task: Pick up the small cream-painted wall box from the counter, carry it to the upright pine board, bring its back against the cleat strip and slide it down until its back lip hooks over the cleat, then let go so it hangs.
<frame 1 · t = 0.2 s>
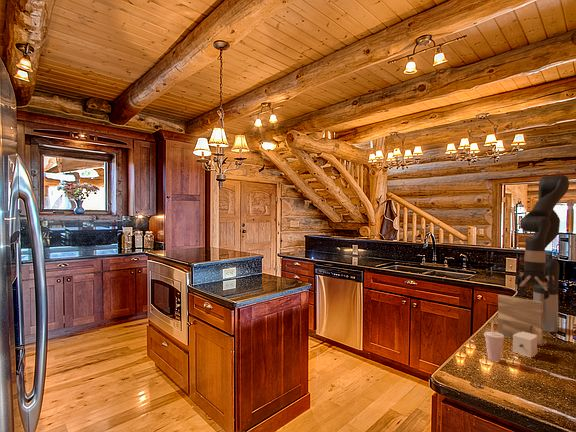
hand: (534, 296, 144), 17 cm above the worktop, tool pointing down, fingers open, 8 cm apart
cleat board: (519, 340, 139), on the worktop
smoothie: (494, 360, 120), on the worktop
wall box: (524, 353, 125), on the worktop
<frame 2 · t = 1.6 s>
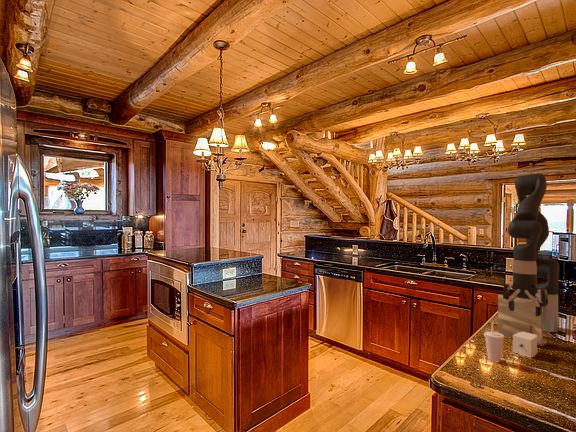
hand: (524, 313, 125), 16 cm above the worktop, tool pointing down, fingers open, 8 cm apart
nothing on the worktop moved.
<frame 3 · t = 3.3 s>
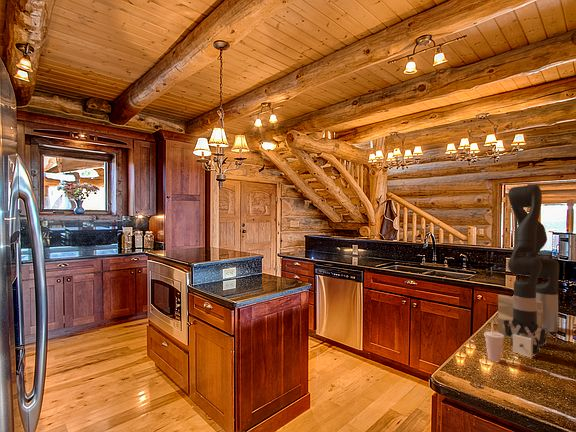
hand: (524, 350, 125), 1 cm above the worktop, tool pointing down, fingers closed on wall box, 6 cm apart
wall box: (524, 353, 125), on the worktop, touching gripper
everything else where it was.
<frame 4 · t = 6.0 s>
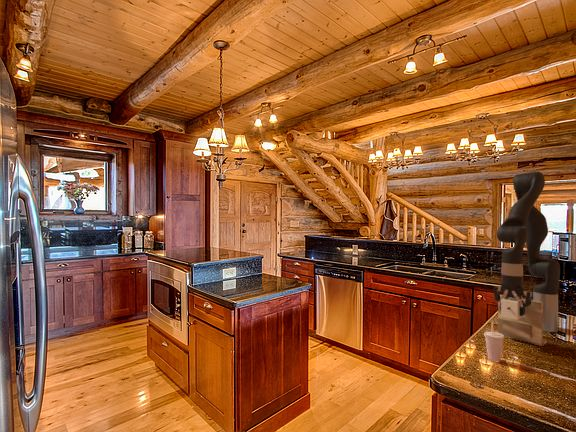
hand: (512, 313, 135), 13 cm above the worktop, tool pointing down, fingers closed on wall box, 6 cm apart
wall box: (512, 316, 135), point 11 cm above the worktop, touching gripper
everything else where it was.
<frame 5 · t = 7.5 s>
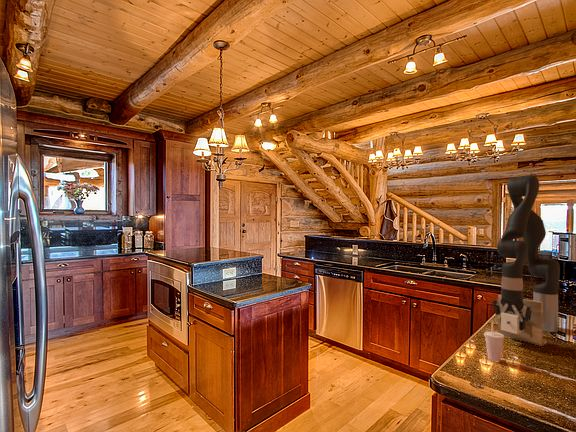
hand: (512, 327, 135), 7 cm above the worktop, tool pointing down, fingers closed on wall box, 6 cm apart
wall box: (512, 330, 135), point 6 cm above the worktop, touching gripper
everything else where it was.
when the fingers open (4 cm above the worktop, at t = 8.7 s): wall box stays where it is, resting on cleat board.
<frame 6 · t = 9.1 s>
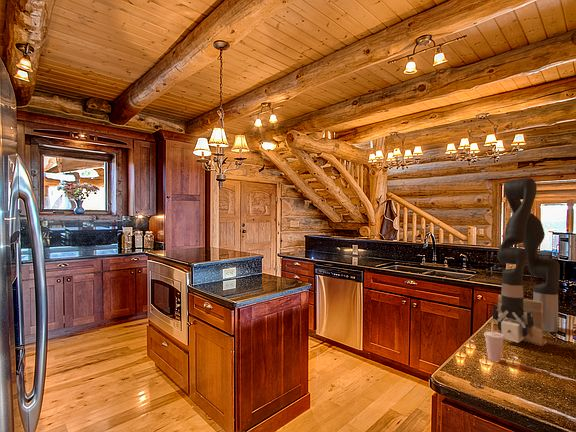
hand: (512, 333, 135), 4 cm above the worktop, tool pointing down, fingers open, 8 cm apart
wall box: (512, 338, 135), point 2 cm above the worktop, tilted 5°, touching cleat board
everything else where it was.
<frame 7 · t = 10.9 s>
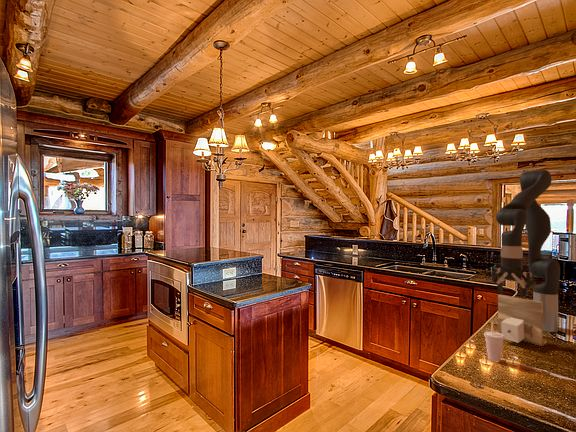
hand: (511, 294, 136), 20 cm above the worktop, tool pointing down, fingers open, 8 cm apart
nothing on the worktop moved.
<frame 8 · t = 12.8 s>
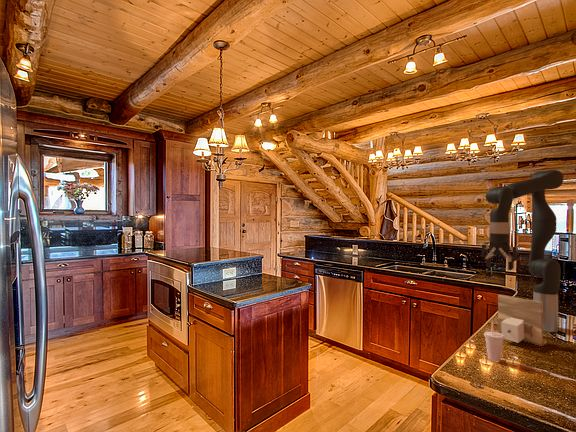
hand: (499, 268, 144), 30 cm above the worktop, tool pointing down, fingers open, 8 cm apart
nothing on the worktop moved.
at the end: wall box 0.6 cm from the target spot, point 2.2 cm above the worktop; wall box touching cleat board; the gripper is holding nothing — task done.
